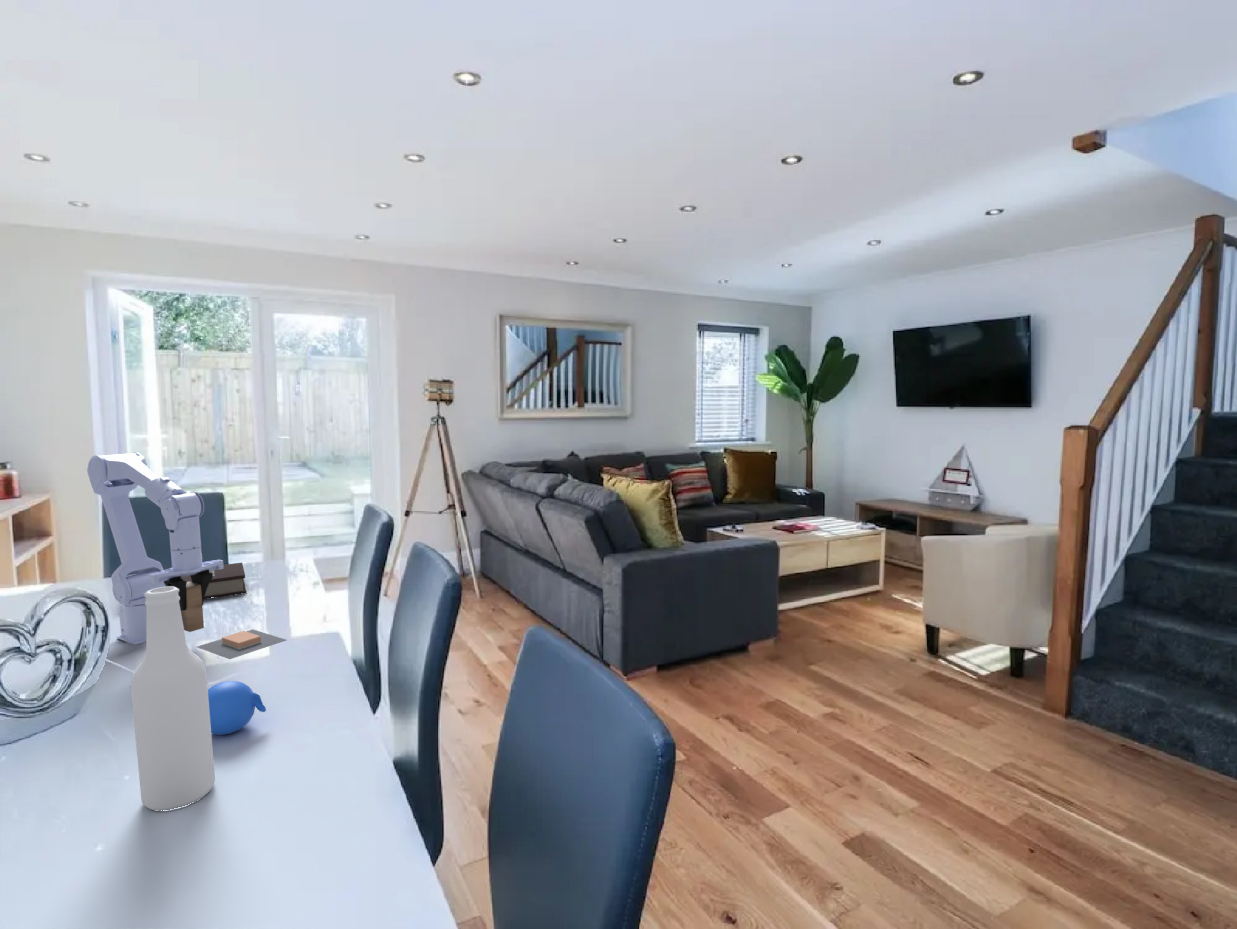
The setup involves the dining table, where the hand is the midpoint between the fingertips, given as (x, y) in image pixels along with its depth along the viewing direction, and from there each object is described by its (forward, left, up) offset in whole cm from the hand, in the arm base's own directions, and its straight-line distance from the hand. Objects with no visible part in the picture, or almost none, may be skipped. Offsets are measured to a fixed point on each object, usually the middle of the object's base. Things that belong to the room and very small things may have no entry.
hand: (190, 607), depth 151 cm
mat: (+7, +7, -10) cm, 14 cm away
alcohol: (+58, -30, -10) cm, 66 cm away
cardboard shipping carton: (-1, 0, -5) cm, 5 cm away
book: (-48, +22, -11) cm, 54 cm away
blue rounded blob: (+44, -15, -10) cm, 47 cm away
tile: (+3, +7, -9) cm, 12 cm away
